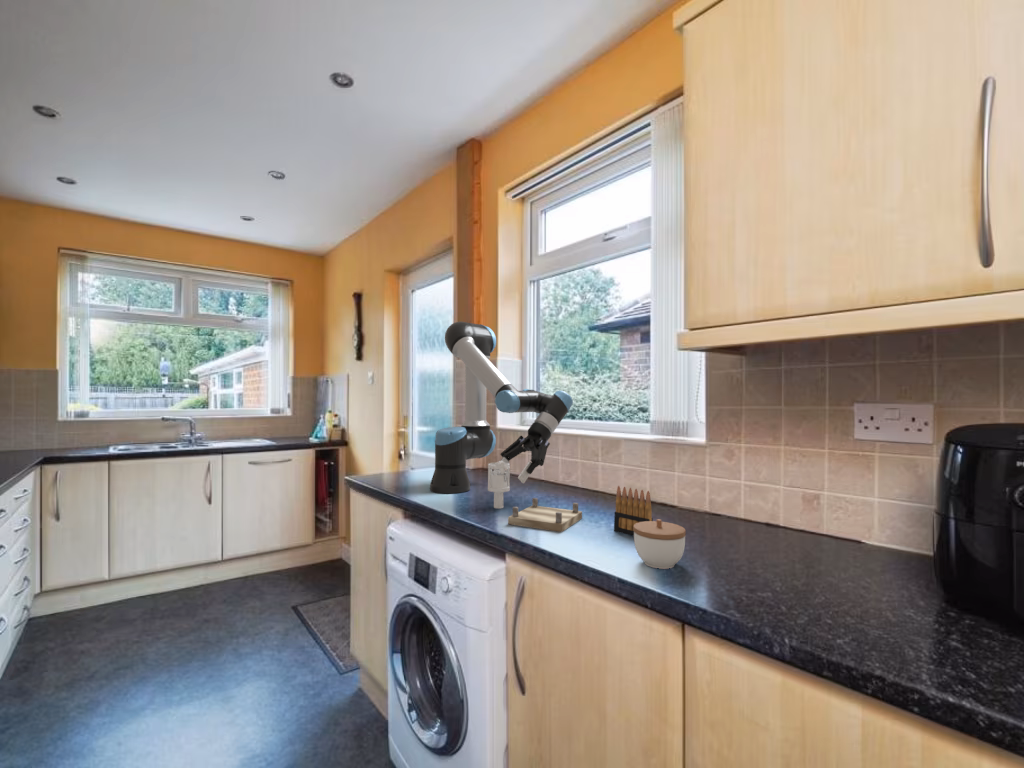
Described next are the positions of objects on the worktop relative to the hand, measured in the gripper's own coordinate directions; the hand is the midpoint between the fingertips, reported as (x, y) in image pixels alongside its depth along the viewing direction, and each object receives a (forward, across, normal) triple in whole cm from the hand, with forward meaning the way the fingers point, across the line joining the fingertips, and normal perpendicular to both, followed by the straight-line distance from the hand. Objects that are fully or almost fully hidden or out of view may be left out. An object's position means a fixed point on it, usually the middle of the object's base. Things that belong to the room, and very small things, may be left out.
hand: (507, 477), depth 152 cm
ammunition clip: (+1, -43, -13) cm, 45 cm away
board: (+8, -20, -6) cm, 22 cm away
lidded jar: (+10, -60, -4) cm, 61 cm away
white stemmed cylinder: (+9, +2, -5) cm, 10 cm away
